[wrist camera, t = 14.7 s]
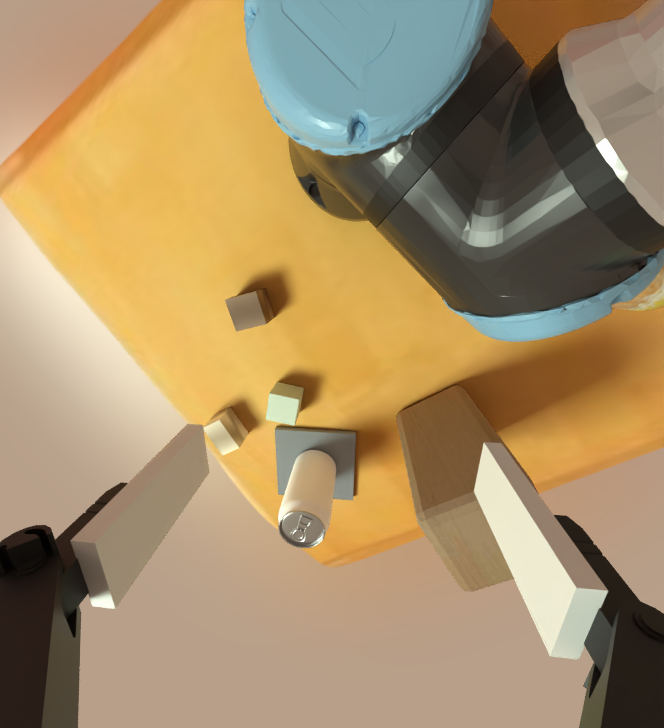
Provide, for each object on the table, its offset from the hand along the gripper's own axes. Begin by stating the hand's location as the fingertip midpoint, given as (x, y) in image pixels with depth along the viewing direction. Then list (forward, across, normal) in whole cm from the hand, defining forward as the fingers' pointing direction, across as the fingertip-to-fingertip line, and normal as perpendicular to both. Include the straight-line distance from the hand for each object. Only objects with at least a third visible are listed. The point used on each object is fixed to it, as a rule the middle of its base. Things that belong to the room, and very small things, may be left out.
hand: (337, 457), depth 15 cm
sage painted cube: (+29, -9, -11) cm, 32 cm away
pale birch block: (+29, -18, -16) cm, 38 cm away
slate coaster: (+29, -5, -22) cm, 37 cm away
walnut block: (+29, -13, +2) cm, 32 cm away
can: (+28, -5, -22) cm, 36 cm away
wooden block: (+29, +13, -14) cm, 35 cm away
